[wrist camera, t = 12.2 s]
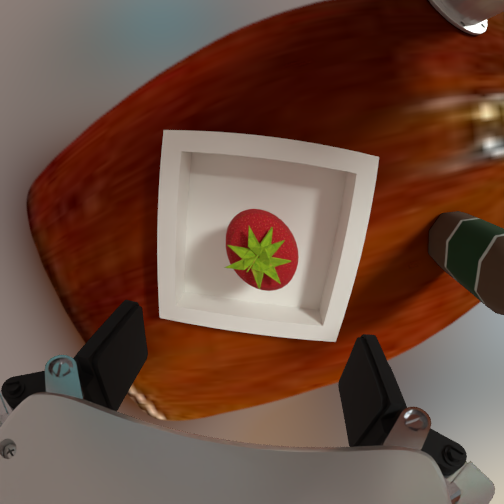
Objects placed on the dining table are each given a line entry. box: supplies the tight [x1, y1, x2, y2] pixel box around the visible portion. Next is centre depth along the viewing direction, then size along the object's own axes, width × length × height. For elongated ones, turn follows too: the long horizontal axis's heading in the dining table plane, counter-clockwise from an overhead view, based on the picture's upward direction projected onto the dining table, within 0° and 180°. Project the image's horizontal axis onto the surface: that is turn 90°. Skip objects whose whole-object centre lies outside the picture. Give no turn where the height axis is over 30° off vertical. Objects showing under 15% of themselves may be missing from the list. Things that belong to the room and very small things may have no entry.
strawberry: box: [224, 209, 299, 291], centre depth 24 cm, size 6×8×10 cm
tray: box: [157, 130, 379, 342], centre depth 28 cm, size 20×20×4 cm
